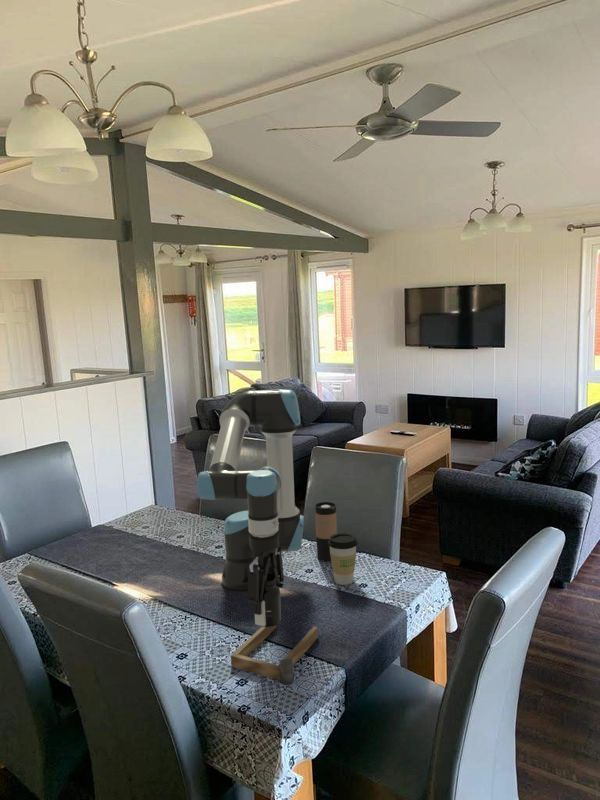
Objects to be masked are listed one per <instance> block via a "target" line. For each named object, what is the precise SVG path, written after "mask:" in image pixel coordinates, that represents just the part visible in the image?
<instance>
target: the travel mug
mask: <svg viewBox="0 0 600 800" xmlns="http://www.w3.org/2000/svg"><path fill="white" fill-rule="evenodd" d="M314 508H315V509H314V510H315V540H316V552H317V555H316V556H317V559H318V561H320V562H327V563H328V562H331V556H330V546H329V545H328V541H329V540H330V537H331V536H332V535H334V534H338V527H337V525H338V524H337V505H336V504H335V503H334V502H330V501H329V502H327V501H324V502H322V501H321V502H318V503H316V504H315V507H314Z"/></svg>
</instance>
